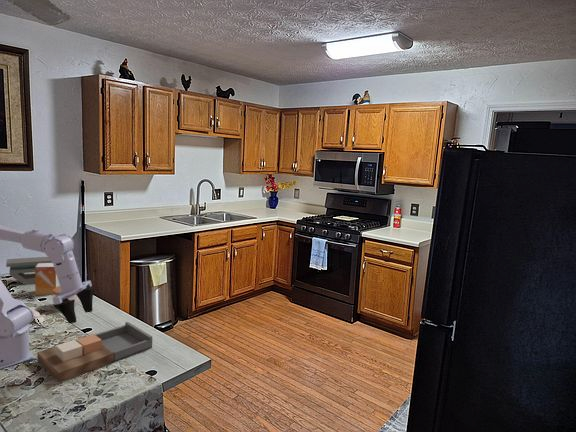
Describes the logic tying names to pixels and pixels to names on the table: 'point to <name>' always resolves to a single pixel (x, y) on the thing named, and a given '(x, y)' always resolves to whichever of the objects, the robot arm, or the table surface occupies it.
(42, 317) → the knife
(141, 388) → the table surface
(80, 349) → the cream tile
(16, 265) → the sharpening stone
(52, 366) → the brown wooden board
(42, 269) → the small box
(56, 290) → the lidded jar
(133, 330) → the tray
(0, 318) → the robot arm
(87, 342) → the terracotta tile
